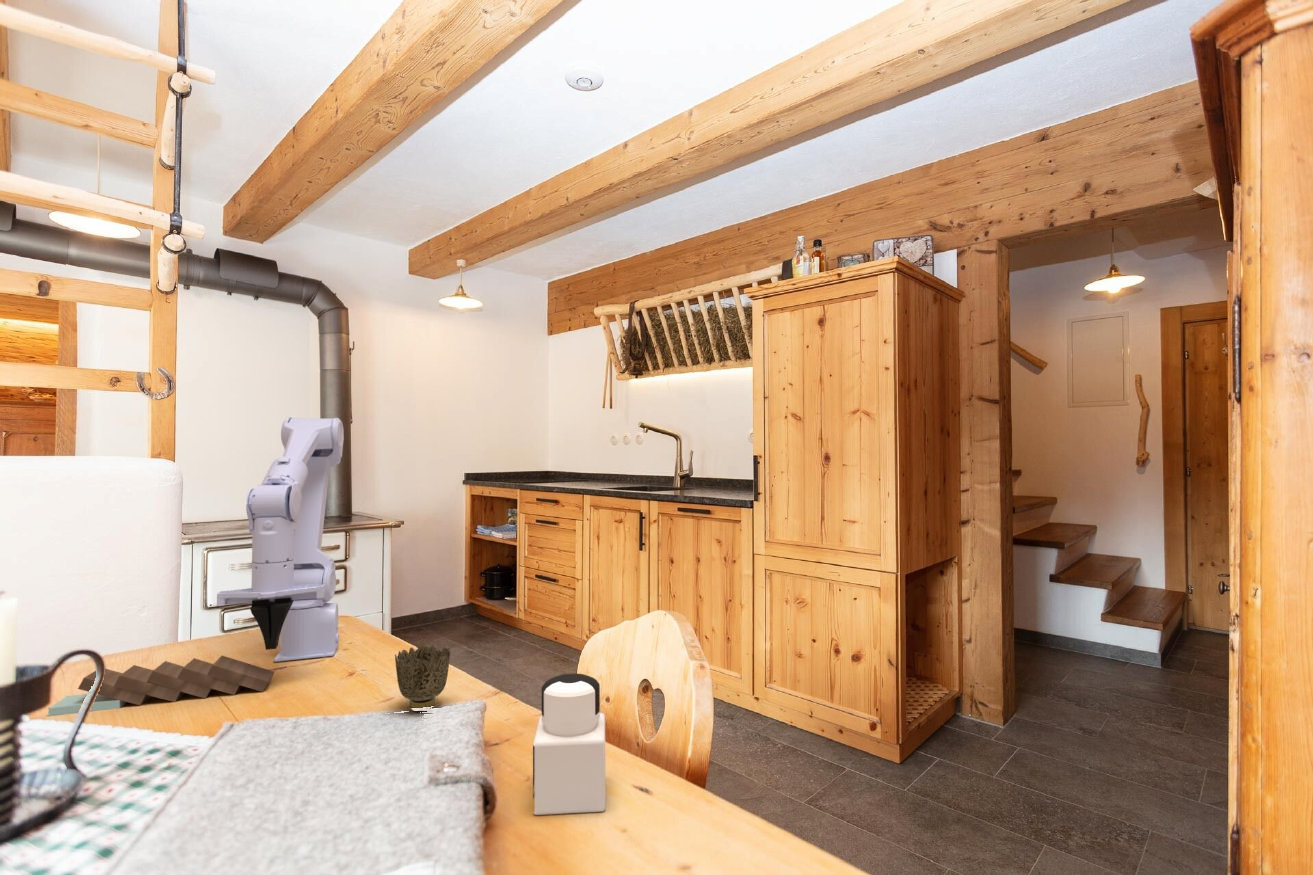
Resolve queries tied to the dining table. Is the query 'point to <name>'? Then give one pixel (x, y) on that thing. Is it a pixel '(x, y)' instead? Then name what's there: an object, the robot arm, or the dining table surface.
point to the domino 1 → (75, 701)
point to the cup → (422, 674)
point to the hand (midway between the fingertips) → (271, 647)
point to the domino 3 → (145, 684)
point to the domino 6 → (241, 673)
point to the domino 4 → (176, 680)
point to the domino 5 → (206, 677)
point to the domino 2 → (113, 688)
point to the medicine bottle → (569, 748)
